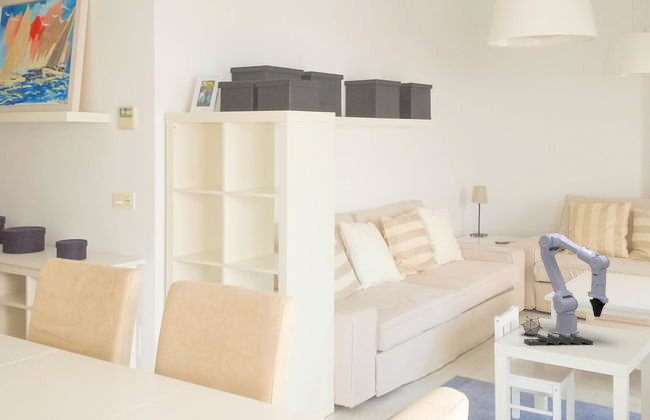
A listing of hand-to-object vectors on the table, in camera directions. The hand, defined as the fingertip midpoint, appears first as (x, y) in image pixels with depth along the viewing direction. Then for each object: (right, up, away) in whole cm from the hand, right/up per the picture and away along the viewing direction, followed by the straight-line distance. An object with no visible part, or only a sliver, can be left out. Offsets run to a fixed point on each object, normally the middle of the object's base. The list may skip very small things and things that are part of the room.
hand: (597, 316), depth 317 cm
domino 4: (-8, -10, -3) cm, 13 cm away
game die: (-25, -10, +9) cm, 28 cm away
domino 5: (-4, -10, -3) cm, 11 cm away
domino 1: (-23, -10, -4) cm, 25 cm away
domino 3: (-13, -10, -4) cm, 17 cm away
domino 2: (-18, -10, -4) cm, 21 cm away
